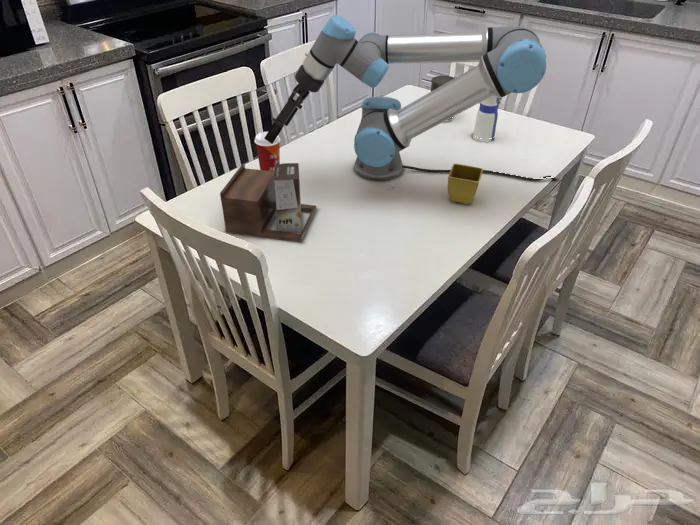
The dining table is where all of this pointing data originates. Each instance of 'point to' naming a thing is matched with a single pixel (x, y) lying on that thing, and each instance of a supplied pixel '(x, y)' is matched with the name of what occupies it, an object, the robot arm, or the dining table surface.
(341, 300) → the dining table surface
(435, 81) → the coffee can
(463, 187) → the flower pot
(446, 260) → the dining table surface
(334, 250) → the dining table surface
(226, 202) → the rack
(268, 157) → the paper cup
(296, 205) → the coffee box
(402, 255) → the dining table surface
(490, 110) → the water bottle
